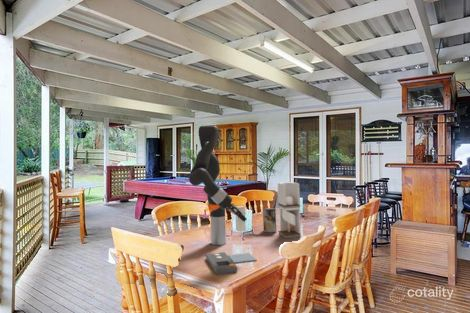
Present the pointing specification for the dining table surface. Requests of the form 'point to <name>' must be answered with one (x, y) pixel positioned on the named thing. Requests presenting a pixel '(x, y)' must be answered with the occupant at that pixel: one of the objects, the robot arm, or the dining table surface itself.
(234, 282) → the dining table surface
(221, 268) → the power strip
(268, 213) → the coffee box
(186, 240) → the dining table surface
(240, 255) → the mat
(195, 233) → the dining table surface
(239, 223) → the white tall rectangular block
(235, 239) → the dining table surface
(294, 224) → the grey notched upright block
